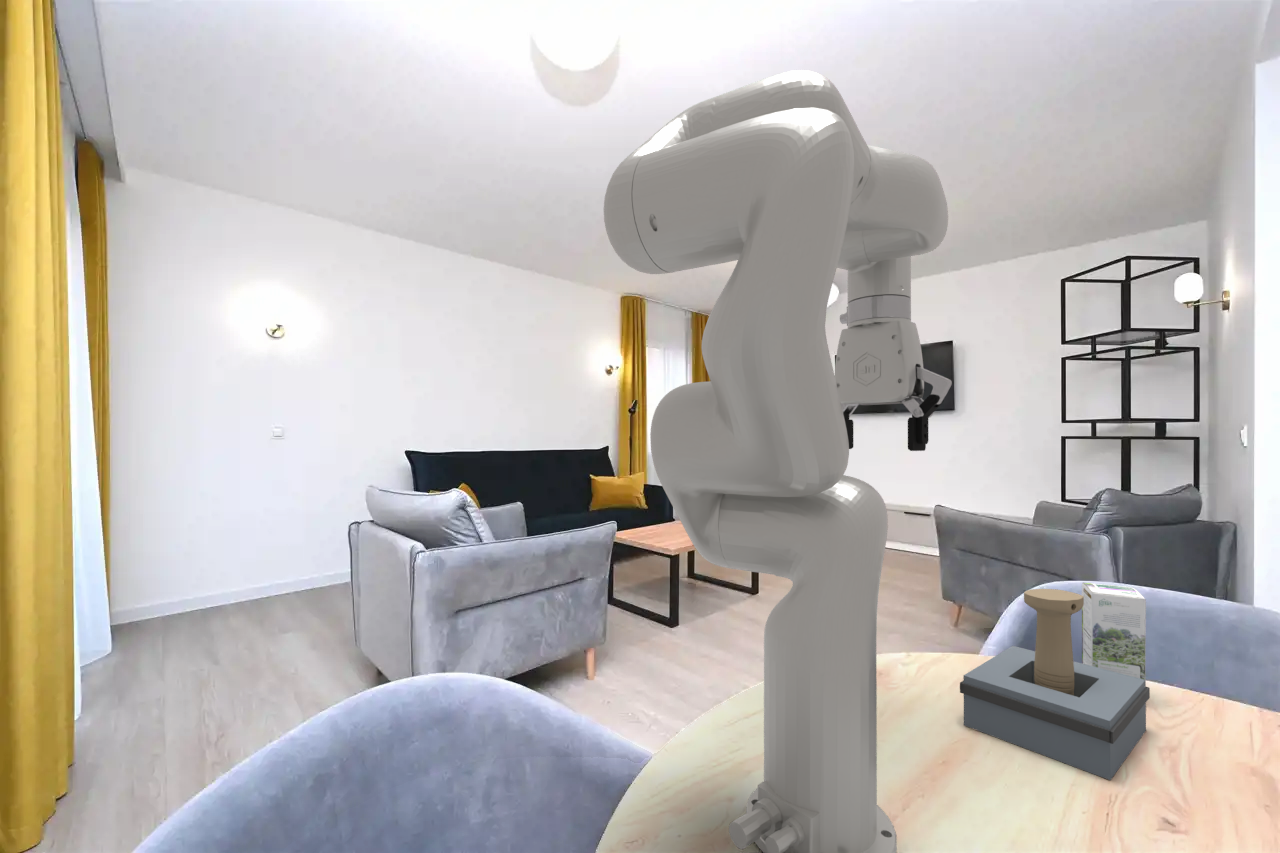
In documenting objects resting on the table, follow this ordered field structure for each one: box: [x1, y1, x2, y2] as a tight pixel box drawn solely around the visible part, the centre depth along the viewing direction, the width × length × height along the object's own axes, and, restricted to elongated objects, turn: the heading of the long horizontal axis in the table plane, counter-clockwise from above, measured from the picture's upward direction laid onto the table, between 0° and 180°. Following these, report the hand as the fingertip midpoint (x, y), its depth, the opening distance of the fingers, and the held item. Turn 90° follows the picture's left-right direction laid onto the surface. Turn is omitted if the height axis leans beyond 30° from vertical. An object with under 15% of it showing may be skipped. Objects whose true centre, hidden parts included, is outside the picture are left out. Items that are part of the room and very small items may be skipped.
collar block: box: [959, 645, 1151, 781], centre depth 68 cm, size 17×15×6 cm
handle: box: [1023, 588, 1084, 696], centre depth 68 cm, size 5×6×15 cm
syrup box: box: [1081, 582, 1147, 680], centre depth 77 cm, size 6×6×14 cm
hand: (878, 449), depth 73 cm, fingers open, 9 cm apart
